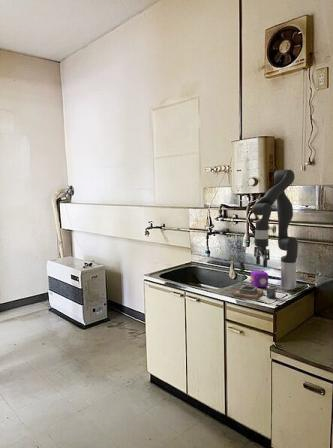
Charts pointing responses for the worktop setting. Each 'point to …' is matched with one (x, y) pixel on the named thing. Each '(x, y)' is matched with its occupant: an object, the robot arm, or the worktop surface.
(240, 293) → the lens mount
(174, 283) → the worktop surface
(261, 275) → the toy camera
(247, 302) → the worktop surface
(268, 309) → the worktop surface
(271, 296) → the lens
